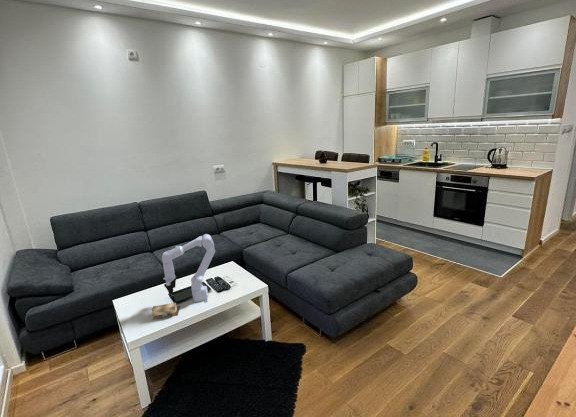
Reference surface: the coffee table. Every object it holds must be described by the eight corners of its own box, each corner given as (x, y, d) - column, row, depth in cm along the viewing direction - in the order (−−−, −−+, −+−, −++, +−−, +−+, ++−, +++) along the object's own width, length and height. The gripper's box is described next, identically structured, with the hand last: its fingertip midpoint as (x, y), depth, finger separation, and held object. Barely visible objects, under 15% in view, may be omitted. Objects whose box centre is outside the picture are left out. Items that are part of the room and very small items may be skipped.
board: (180, 306, 191) (180, 305, 191) (177, 316, 181) (177, 315, 181) (157, 310, 189) (157, 309, 189) (153, 320, 179) (152, 319, 178)
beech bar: (176, 308, 184) (175, 302, 183) (175, 312, 180) (174, 306, 179) (154, 312, 182) (153, 306, 181) (152, 316, 178) (151, 310, 177)
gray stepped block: (171, 313, 184) (170, 309, 183) (169, 316, 180) (169, 313, 179) (162, 314, 183) (161, 311, 182) (160, 318, 179) (160, 314, 179)
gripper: (164, 266, 193) (168, 286, 197) (159, 276, 179) (163, 297, 183) (176, 265, 194) (179, 284, 198) (172, 275, 181) (175, 295, 184)
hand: (172, 290), depth 190 cm, fingers open, 7 cm apart
